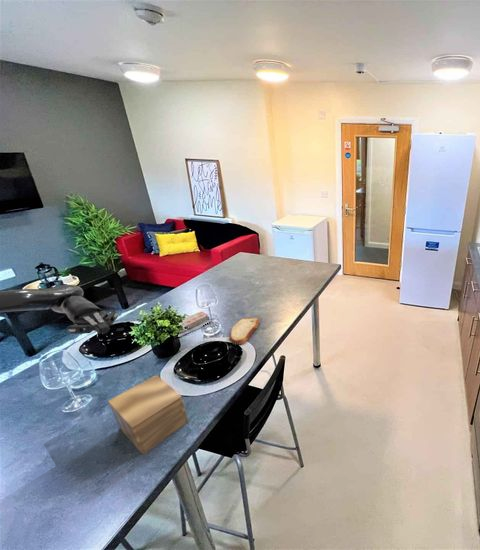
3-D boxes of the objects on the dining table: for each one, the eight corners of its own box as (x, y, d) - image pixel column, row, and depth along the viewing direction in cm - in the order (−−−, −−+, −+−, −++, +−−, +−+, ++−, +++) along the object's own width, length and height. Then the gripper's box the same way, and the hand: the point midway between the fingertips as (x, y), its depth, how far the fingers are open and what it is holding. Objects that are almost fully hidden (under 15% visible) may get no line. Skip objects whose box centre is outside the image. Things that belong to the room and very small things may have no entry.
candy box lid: (182, 398, 92) (182, 396, 92) (132, 429, 81) (132, 427, 81) (157, 376, 100) (156, 374, 99) (108, 402, 89) (107, 400, 89)
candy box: (189, 425, 98) (181, 396, 92) (144, 458, 87) (131, 428, 82) (166, 404, 105) (157, 376, 100) (121, 432, 95) (108, 402, 89)
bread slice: (236, 347, 136) (235, 340, 134) (220, 331, 147) (219, 324, 146) (271, 331, 148) (270, 325, 147) (254, 317, 159) (253, 312, 158)
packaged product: (200, 308, 157) (211, 314, 152) (201, 316, 158) (212, 322, 154) (164, 324, 142) (175, 330, 138) (166, 332, 144) (177, 339, 140)
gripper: (53, 311, 92) (72, 330, 83) (104, 296, 102) (126, 311, 94) (62, 331, 95) (81, 351, 86) (111, 314, 105) (133, 330, 97)
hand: (105, 330), depth 90 cm, fingers closed
